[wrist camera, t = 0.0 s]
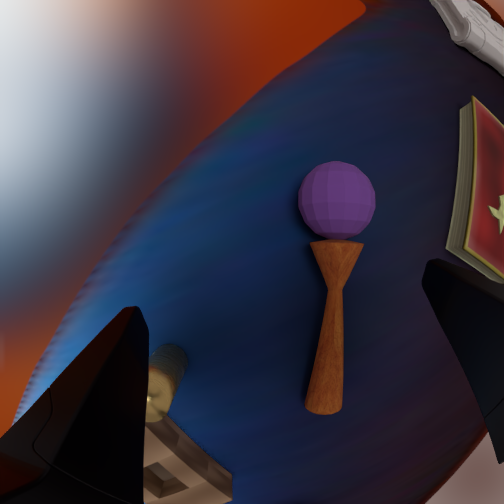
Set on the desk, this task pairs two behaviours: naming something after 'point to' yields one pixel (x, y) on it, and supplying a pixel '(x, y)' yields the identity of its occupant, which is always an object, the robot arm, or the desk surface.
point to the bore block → (180, 469)
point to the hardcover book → (479, 193)
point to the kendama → (333, 264)
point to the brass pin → (164, 379)
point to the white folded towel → (473, 30)
